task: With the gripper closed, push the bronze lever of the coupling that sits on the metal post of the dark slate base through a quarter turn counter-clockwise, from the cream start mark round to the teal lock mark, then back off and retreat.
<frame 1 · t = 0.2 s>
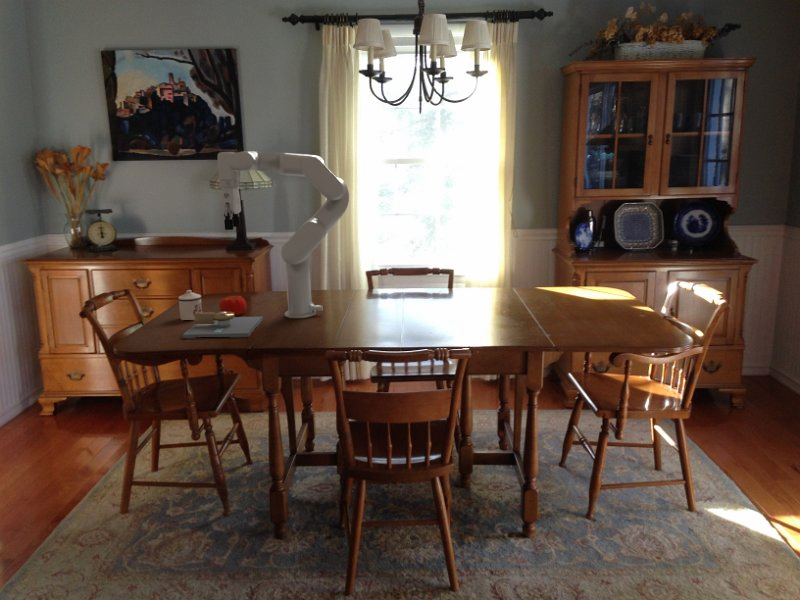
hand: (232, 228, 267), 36 cm above the table, tool pointing down, fingers open, 9 cm apart
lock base: (224, 328, 257), on the table
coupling: (215, 317, 256), point 5 cm above the table, hinge at 0.0°
tomato: (234, 315, 279), on the table
teacup with lid: (193, 317, 276), on the table
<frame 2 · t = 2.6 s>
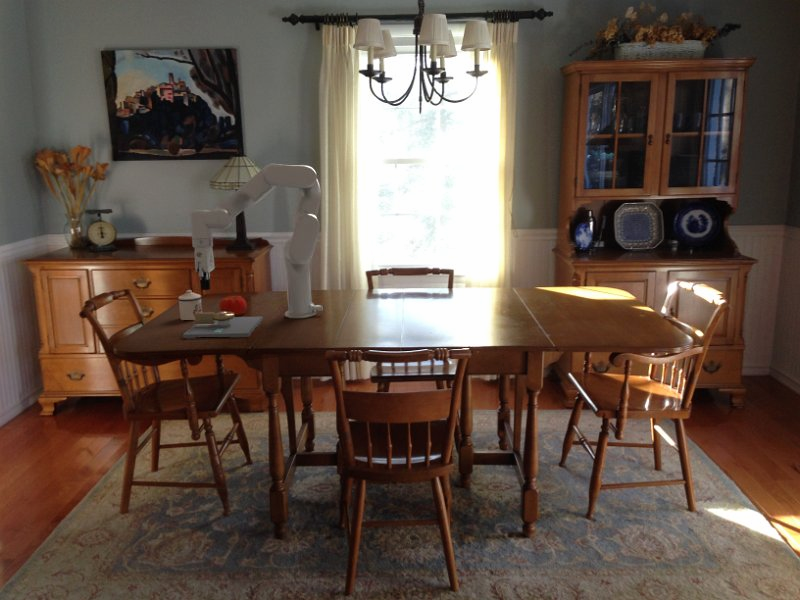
hand: (205, 289, 261), 14 cm above the table, tool pointing down, fingers closed
nothing on the table moved.
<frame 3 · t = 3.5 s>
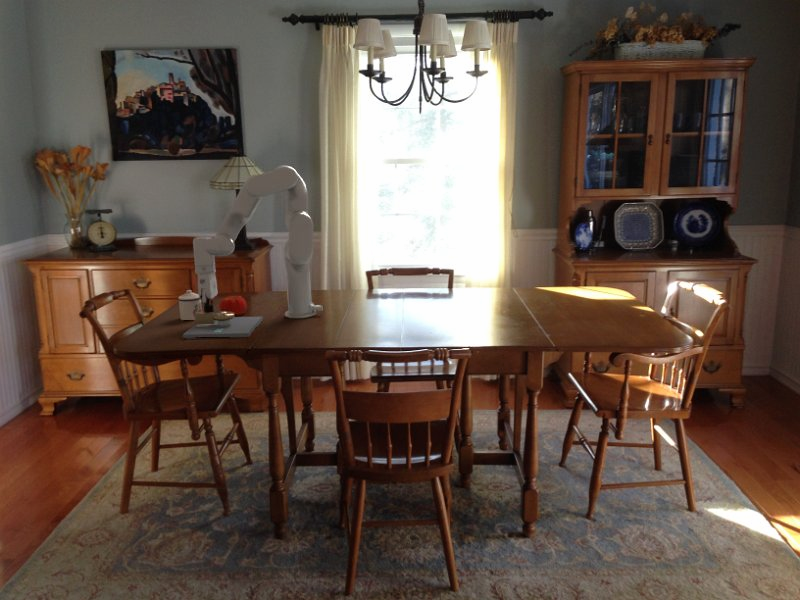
hand: (209, 315, 264), 4 cm above the table, tool pointing down, fingers closed
nothing on the table moved.
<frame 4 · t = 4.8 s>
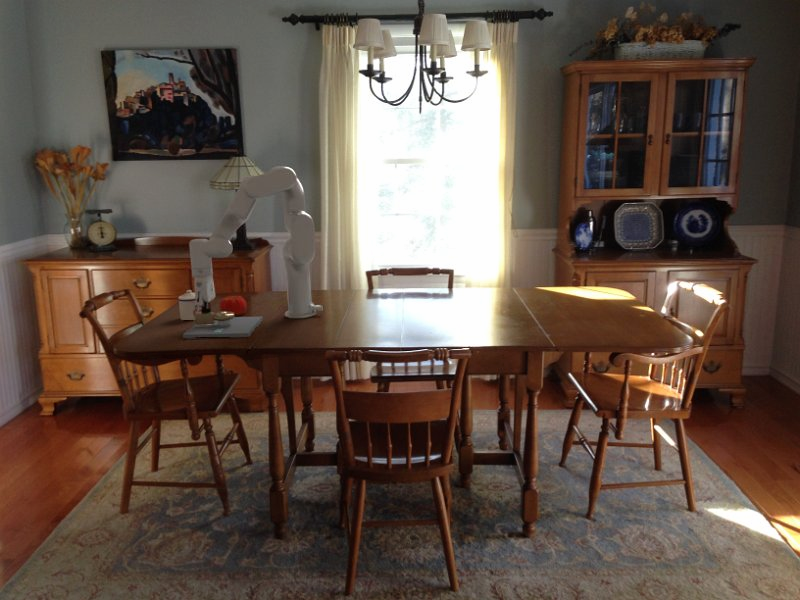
hand: (206, 318, 260), 3 cm above the table, tool pointing down, fingers closed
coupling: (215, 317, 256), point 5 cm above the table, hinge at 2.6°, touching gripper
everything else where it was.
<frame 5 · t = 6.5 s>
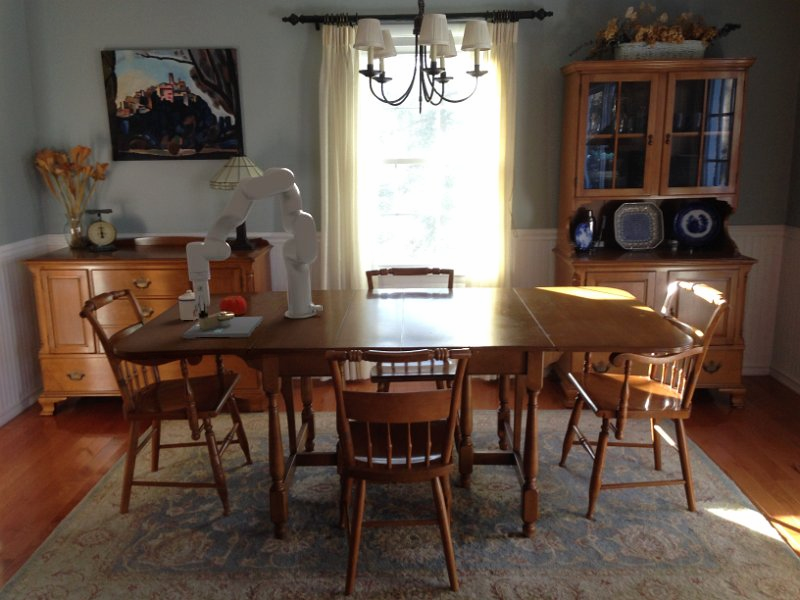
hand: (204, 323, 253), 3 cm above the table, tool pointing down, fingers closed
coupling: (216, 319, 254), point 5 cm above the table, hinge at 55.5°, touching gripper
everything else where it was.
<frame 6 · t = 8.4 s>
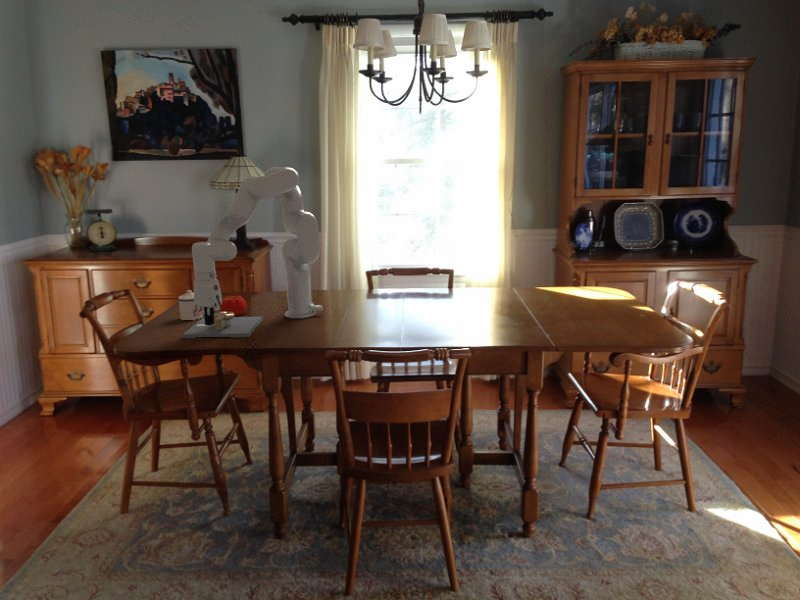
hand: (209, 324, 251), 3 cm above the table, tool pointing down, fingers closed
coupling: (222, 319, 253), point 5 cm above the table, hinge at 94.7°
everything else where it was.
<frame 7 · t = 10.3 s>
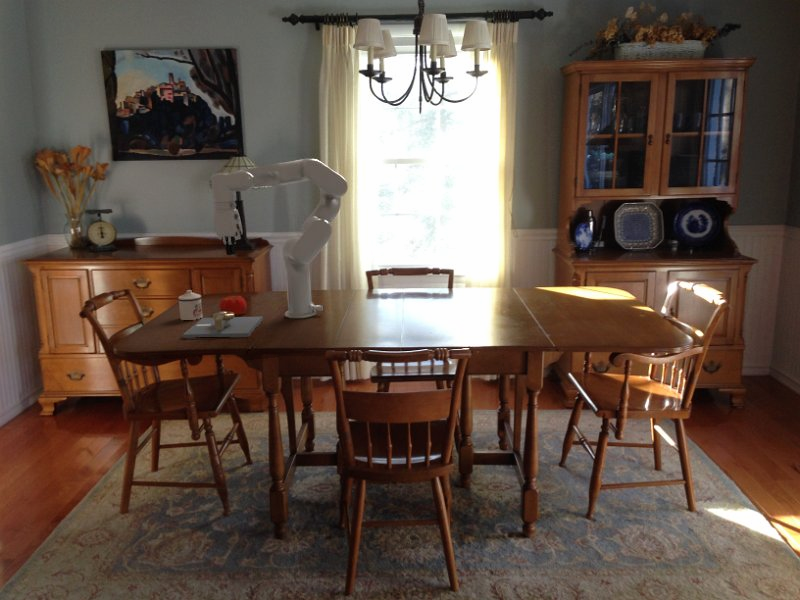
hand: (231, 254, 259), 27 cm above the table, tool pointing down, fingers closed
nothing on the table moved.
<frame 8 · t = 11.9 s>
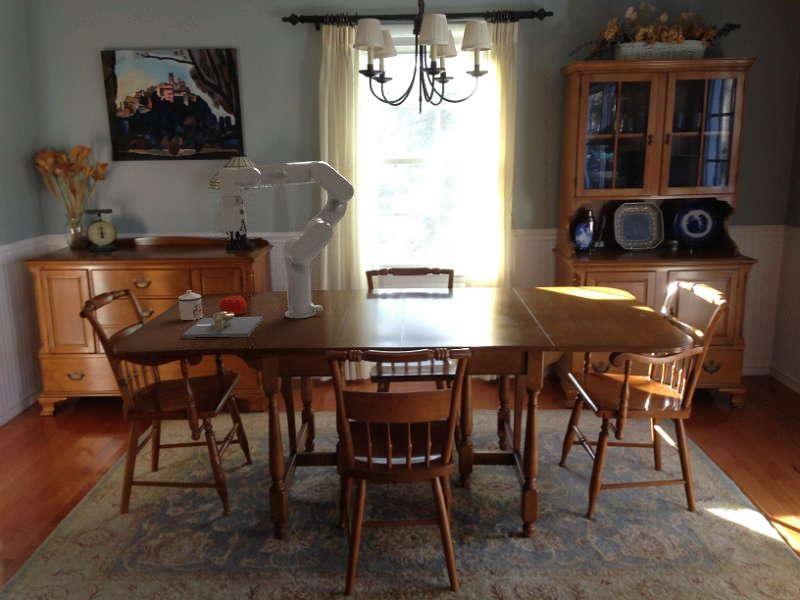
hand: (235, 249, 260), 29 cm above the table, tool pointing down, fingers closed
nothing on the table moved.
at the end: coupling at +95° (first picture: +0°); the gripper is holding nothing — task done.
